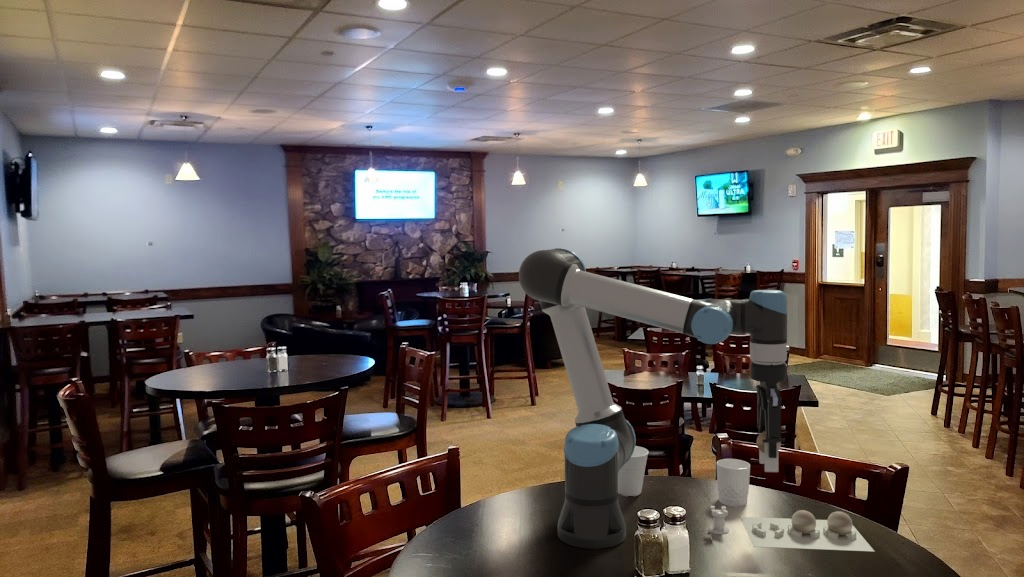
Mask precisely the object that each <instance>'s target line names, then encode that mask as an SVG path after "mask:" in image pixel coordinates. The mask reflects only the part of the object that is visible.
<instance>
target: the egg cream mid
mask: <svg viewBox="0 0 1024 577" xmlns="http://www.w3.org/2000/svg"><path fill="white" fill-rule="evenodd" d="M791 519H792V525H793V527H794V529H795V530H797V531H800V532H802V534H809V533H811V532H812V531H814V529H815V527H816V520H817V519H816V517H815V516H814V514H813V513H812V512H810V511H808V510H804V509H800V510H797V511H796V512H794V513H793V515H792V516H791Z"/></svg>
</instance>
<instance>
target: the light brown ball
mask: <svg viewBox="0 0 1024 577" xmlns="http://www.w3.org/2000/svg"><path fill="white" fill-rule="evenodd" d="M762 440H766V431H764V432H762V433H759V434H758V435H757V438H756V446H757V448H758V449H759V450H760V451H761V452H763V453H765V443H763V441H762ZM781 445H782V441H781V442H779V443H778V451H779V450H780V449H781V447H782V446H781ZM759 450H758V451H759Z"/></svg>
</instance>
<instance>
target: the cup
mask: <svg viewBox="0 0 1024 577" xmlns="http://www.w3.org/2000/svg"><path fill="white" fill-rule="evenodd" d="M648 455H649V450H648V449H647V448H645V447H642V446H639V445H638V446H637V445H635V448H634V451H633V454H632V456H631V458H630V459H629V460H628V461H627V462H626V463H625V464H624V465H623V467H622V468H621V469H620V470H619V472H618V495H620V494H621V495H620V496H623V497H628V496H633V497H637V496H639V495H640V494H642V489H643V483H644V478H645V471H646V465H647V460H648Z"/></svg>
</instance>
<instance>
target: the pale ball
mask: <svg viewBox="0 0 1024 577" xmlns="http://www.w3.org/2000/svg"><path fill="white" fill-rule="evenodd" d="M826 520H827V524H828V527H829V529H830V530H831V531H832V532H835V533H838V534H839V535H846V534H848V533H849V532H850V531H851V530H852V526H854V525H853V520H852V518H851V517H850V515H849V514H847V513H846V512H844V511H837V510H836V511H833V512H831V513H830V514H829V515H828V517H827V519H826Z"/></svg>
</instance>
